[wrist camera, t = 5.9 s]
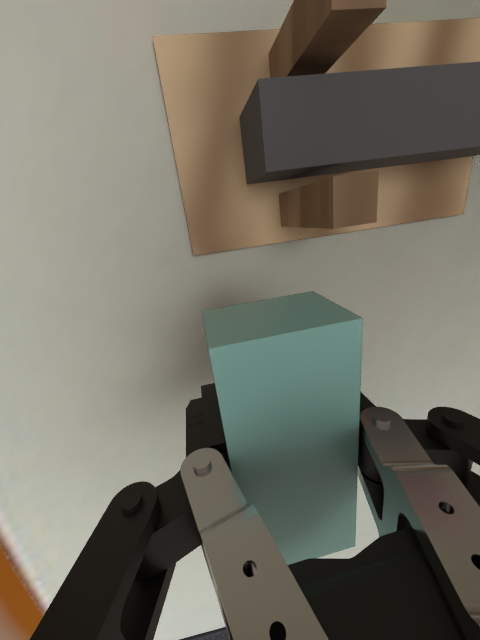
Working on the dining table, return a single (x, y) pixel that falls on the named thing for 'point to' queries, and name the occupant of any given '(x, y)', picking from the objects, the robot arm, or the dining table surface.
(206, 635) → the black book
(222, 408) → the block
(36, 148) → the dining table surface
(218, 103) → the board
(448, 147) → the bar
